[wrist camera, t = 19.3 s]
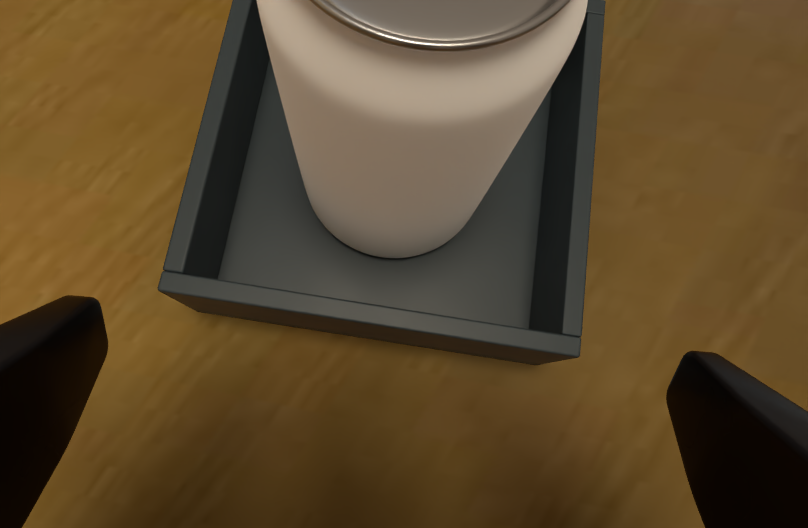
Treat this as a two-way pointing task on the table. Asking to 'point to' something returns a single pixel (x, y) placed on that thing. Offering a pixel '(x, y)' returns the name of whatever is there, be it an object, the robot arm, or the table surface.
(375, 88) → the can
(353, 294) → the bin
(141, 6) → the table surface
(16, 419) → the robot arm
